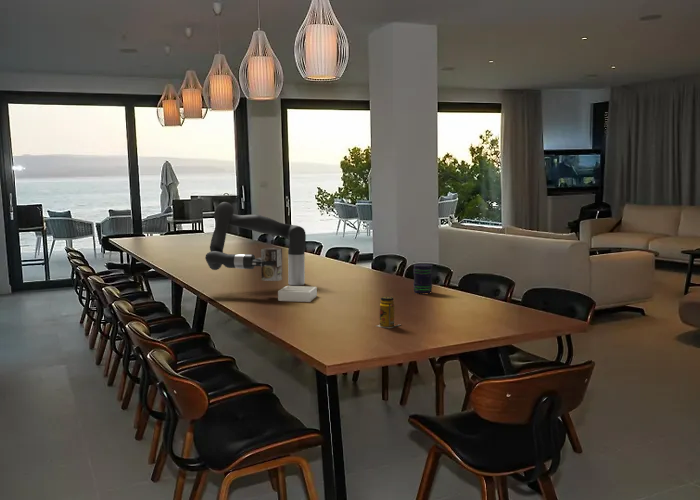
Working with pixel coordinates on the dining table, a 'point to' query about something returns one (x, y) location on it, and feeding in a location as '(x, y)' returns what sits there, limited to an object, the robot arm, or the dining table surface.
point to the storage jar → (422, 278)
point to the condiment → (387, 312)
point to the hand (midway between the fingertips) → (275, 262)
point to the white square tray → (297, 293)
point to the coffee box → (276, 270)
